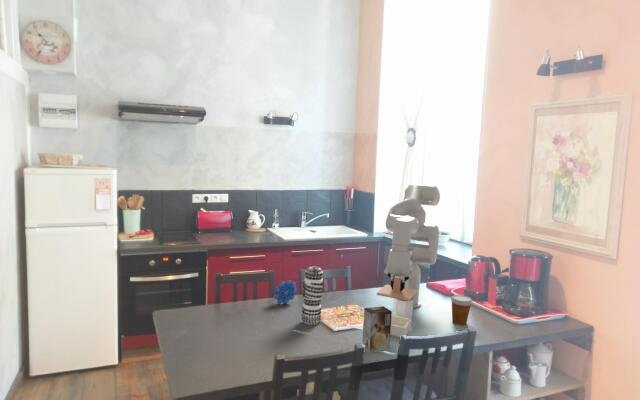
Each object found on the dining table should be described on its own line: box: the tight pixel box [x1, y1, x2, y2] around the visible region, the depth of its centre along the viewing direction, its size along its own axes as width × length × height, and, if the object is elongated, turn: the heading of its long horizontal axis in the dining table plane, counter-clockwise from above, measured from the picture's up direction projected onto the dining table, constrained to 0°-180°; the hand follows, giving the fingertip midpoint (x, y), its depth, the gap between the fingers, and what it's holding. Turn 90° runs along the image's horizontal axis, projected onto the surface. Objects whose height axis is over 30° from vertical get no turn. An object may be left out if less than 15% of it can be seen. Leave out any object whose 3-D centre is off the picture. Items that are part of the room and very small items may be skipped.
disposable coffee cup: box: [450, 294, 473, 326], centre depth 219 cm, size 10×10×12 cm
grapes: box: [273, 279, 298, 305], centre depth 232 cm, size 12×7×12 cm, turn 110°
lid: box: [376, 275, 417, 301], centre depth 202 cm, size 14×14×7 cm
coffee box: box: [361, 306, 393, 354], centre depth 185 cm, size 9×6×16 cm
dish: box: [390, 314, 413, 338], centre depth 204 cm, size 12×12×5 cm
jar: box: [392, 297, 414, 320], centre depth 222 cm, size 9×8×12 cm
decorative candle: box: [301, 265, 325, 326], centre depth 208 cm, size 9×9×25 cm
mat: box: [347, 325, 363, 331], centre depth 211 cm, size 14×14×1 cm
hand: (397, 289), depth 203 cm, fingers closed on lid, 3 cm apart
